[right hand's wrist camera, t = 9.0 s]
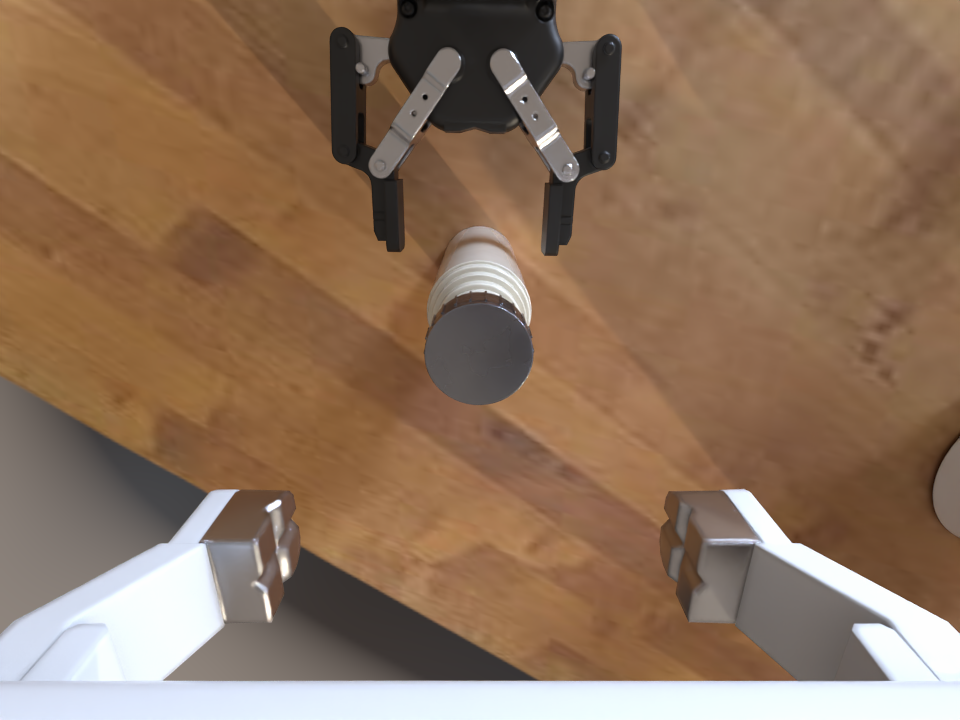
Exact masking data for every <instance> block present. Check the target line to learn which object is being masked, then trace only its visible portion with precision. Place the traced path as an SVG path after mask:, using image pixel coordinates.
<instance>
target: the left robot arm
mask: <svg viewBox="0 0 960 720" xmlns="http://www.w3.org/2000/svg"><path fill="white" fill-rule="evenodd" d="M621 52H622V45H621V41H620V39H619V38H618V37H617V36H616V35H613V34H607V35H604V36H603V37H601V38H600V39H599V40H597V41H579V42H562V40H561V38H560V35H559V33H558V29H557V25H556V0H397V20H396V25H395V28H394V30H393V33H392V35H391V37H390V38H380V37H370V36H359V35H354V34H353V33H352V32H351V31H350V30H349V29H347V28H345V27H338V28H336V29H335V30H333V32H332V33H331V36H330V79H331V128H332V154H333V156H334V158H335V159H336V160H337V161H338V162H339V163H342V164H347V165H349V166H352V167H354V168H357V169H359V170H362V171H363V172H365V173H366V174H367V175H368V176H369V178H370V180H371V185H372V203H373V219H374V232H375V234H376V237H377V239H378V241H386V246H387V251H388V252H401V251H402V250H403V249H404V245H405V233H404V202H403V179H398V171H399V169H400V168H401V166H402V165H403V163H404V162H405V161H406V159H407V158H408V156H409V155H410V153H411V152H412V150H413V149H414V148H415V146H416V145H417V144H418V143H419V142H420V141H421V139H422V138H423V136H424V135H425V133H426V132H427V130H428V129H429V128H430V126H431V125H432V124H433V125H434V126H435V127H437V128H438V129H440V130H443V131H444V132H446V133H462V132H466V131H469V130H473V129H477V130H480V131H483V132H487V133H490V134H505V133H506V132H509V131H511V130H513V129H514V128H516V127H517V126H519V127H520V129H521V130H522V132H523V133H524V135H525V136H526V138H527V140H528V141H529V143H530V144H531V145H532V147H533V148H534V149H535V151H536V152H537V154H538V155H539V157H540V158H541V160H542V161H543V163H544V165H545V166H546V168H547V169H548V171H549V172H550V179H549V183H545V192H544V208H543V224H542V240H541V251H542V253H543V254H544V256H557V255H558V249H559V245H567V244H568V242H569V240H570V238H571V234H572V222H573V210H574V198H575V188H576V185H577V183H578V182H579V180H580V179H581V178H583V177H584V176H587V175H589V174H592V173H595V172H598V171H601V170H607V169H609V168H611V167H612V166H613V165H614V163H615V161H616V152H617V132H618V112H619V92H620V72H621ZM387 63H391V65H392V67H393V68H394V70H395V71H396V73H397V74H398V76H399V77H400V79H401V80H402V82H403V83H404V85H405V86H406V88H407V89H408V91H409V92H410V94H411V95H410V97H409V98H408V100H407V101H406V103H405V104H404V106H403V107H402V109H401V110H400V112H399V113H398V115H397V116H396V118H395V119H394V121H393V122H392V124H391V126H390V129H389V131H388V133H387V134H386V136H385V137H384V139H383V140H382V142H381V143H380V145H379V146H378V148H377V149H376V148H374V147H371V146H369V145H366V86H372V85H374V84H375V83H376V82H377V80H378V77H379V72H380V69H381V68H382V66H383V65H385V64H387ZM561 67H565V68H567V69H568V70H569V71H570V72H571V74H572V78H573V84H574V86H575V87H576V88H577V89H578V90H580V91H585V122H584V149H583V150H580V151H578V152H575V153H572V152H571V151H570V149H569V148H568V146H567V144H566V143H565V141H564V139H563V138H562V136H561V134H560V132H559V130H558V127H557V125H556V124H555V122H554V120H553V119H552V117H551V116H550V114H549V112H548V111H547V109H546V107H545V106H544V104H543V103H542V101H541V99H540V96H541V95H542V93H543V92H544V91H545V89H546V88H547V86H548V85H549V84H550V82H551V81H552V79H553V78H554V77H555V75H556V74H557V72H558V71H559V69H560V68H561Z"/></svg>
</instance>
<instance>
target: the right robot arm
mask: <svg viewBox="0 0 960 720" xmlns="http://www.w3.org/2000/svg"><path fill="white" fill-rule="evenodd" d="M933 504H934V509H935V512H936V515H937V517H938V519H939V520H940V522H941V523H942V524H943V526H944V527H945V528H946V529H947V530H948V531H950V532H951V533H952V534H954V535H955V536H957V537H959V538H960V438H959V439H958V440H957V441H956V442H955V443H954V445H953V446H952V447H951V449H950V450H949V452H948V453H947V454H946V456H945V458H944V459H943V461H942V463H941V465H940V467H939V470H938V472H937V475H936V478H935V482H934V487H933ZM295 509H296V506H295V501H294V496H293V494H292V493H291V492H290V491H281V490H214V491H211V492H210V493H209V494H208V495H207V496H206V497H205V499H204V500H203V501H202V502H201V504H200V505H199V506H198V507H197V508H196V510H195V511H194V512H193V513H192V514H191V516H190V517H189V518H188V519H187V521H186V522H185V523H184V524H183V526H182V527H181V528H180V529H179V530H178V532H177V533H176V534H175V535H174V537H173V538H172V539H171V540H170V541H169V543H160V544H158V545H156V546H154V547H152V548H150V549H148V550H147V551H145V552H143V553H141V554H139V555H137V556H135V557H133V558H132V559H130V560H128V561H126V562H124V563H122V564H120V565H118V566H116V567H115V568H113V569H111V570H109V571H107V572H105V573H103V574H101V575H99V576H98V577H96V578H94V579H92V580H90V581H88V582H86V583H84V584H83V585H81V586H79V587H77V588H75V589H73V590H71V591H69V592H67V593H66V594H64V595H62V596H60V597H58V598H56V599H54V600H52V601H51V602H49V603H47V604H45V605H43V606H41V607H39V608H37V609H35V610H34V611H32V612H30V613H28V614H26V615H24V616H22V617H20V618H19V619H17V620H15V621H13V622H12V623H11V624H10V625H9V626H8V627H7V628H6V629H5V630H4V631H3V632H2V633H1V634H0V720H960V634H959V633H958V632H957V631H956V630H955V629H954V628H953V627H952V626H951V625H950V624H949V623H948V622H947V621H945V620H943V619H941V618H939V617H937V616H935V615H934V614H932V613H930V612H928V611H926V610H924V609H922V608H920V607H919V606H917V605H915V604H913V603H911V602H909V601H907V600H905V599H904V598H902V597H900V596H898V595H896V594H894V593H892V592H890V591H889V590H887V589H885V588H883V587H881V586H879V585H877V584H875V583H873V582H872V581H870V580H868V579H866V578H864V577H862V576H860V575H858V574H857V573H855V572H853V571H851V570H849V569H847V568H845V567H843V566H842V565H840V564H838V563H836V562H834V561H832V560H830V559H828V558H827V557H825V556H823V555H821V554H819V553H817V552H815V551H813V550H812V549H810V548H808V547H806V546H804V545H802V544H800V543H791V541H790V540H789V539H788V538H787V537H786V535H785V534H784V533H783V532H782V530H781V529H780V528H779V527H778V526H777V524H776V523H775V522H774V521H773V519H772V518H771V517H770V516H769V515H768V513H767V512H766V511H765V510H764V508H763V507H762V506H761V505H760V504H759V502H758V501H757V500H756V499H755V497H754V496H753V495H752V494H751V493H750V492H749V491H747V490H745V489H736V490H719V491H669V492H668V494H667V496H666V500H665V506H664V509H665V511H666V513H667V515H668V517H669V519H668V520H667V521H666V522H665V523H664V524H663V525H662V527H661V532H660V553H661V558H662V562H663V566H664V568H665V570H666V573H667V575H668V576H669V577H670V578H672V579H673V580H674V581H676V582H677V589H676V595H677V597H678V599H679V602H680V604H681V606H682V608H683V610H684V613H685V615H686V617H687V619H688V621H689V622H705V623H736V624H735V626H736V627H737V628H738V629H740V630H741V631H742V632H743V633H744V634H745V635H746V636H748V637H749V638H750V639H751V640H752V641H753V642H754V643H755V644H757V645H758V646H759V647H760V648H761V649H762V650H763V651H765V652H766V653H767V654H768V655H769V656H770V657H771V658H772V659H774V660H775V661H776V662H777V663H778V664H779V665H780V666H782V667H783V668H784V669H785V670H786V671H787V672H788V673H789V674H791V675H792V676H793V677H794V678H795V679H796V680H797V681H163V680H164V679H165V678H166V677H167V676H168V675H170V674H171V673H172V672H173V671H174V670H175V669H176V668H177V667H179V666H180V665H181V664H182V663H183V662H184V661H185V660H187V659H188V658H189V657H190V656H191V655H192V654H193V653H195V652H196V651H197V650H198V649H199V648H200V647H201V646H202V645H204V644H205V643H206V642H207V641H208V640H209V639H210V638H212V637H213V636H214V635H215V634H216V633H217V632H218V631H219V630H221V629H222V628H223V627H224V626H225V624H224V623H254V622H271V621H272V619H273V617H274V615H275V613H276V610H277V608H278V606H279V604H280V602H281V599H282V597H283V595H284V589H283V582H284V581H286V580H287V579H288V578H290V577H291V576H292V575H293V573H294V570H295V568H296V565H297V562H298V557H299V552H300V531H299V527H298V525H297V524H296V523H295V522H294V521H293V520H292V519H291V517H292V515H293V513H294V511H295Z"/></svg>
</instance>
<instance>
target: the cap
mask: <svg viewBox="0 0 960 720" xmlns="http://www.w3.org/2000/svg"><path fill="white" fill-rule="evenodd" d="M531 338H532V334H531V331H530V328H529V326H527V324H526V321H525V317H524V314H523V313H522V314H521V313H520V311H519V310H518V309H517V308H516V307H515V305H514V303H513V302H512V303H511V302H509V301H508V300H506V299H504V298H503V297H502V295H499V296H498V295H495V294H492V293H487V291H485V292H472V291H470V292H469V293H467V294H463V295H460V296H457V295H456V296H455V298H454V299H452V300H450V301H449V302H447V303H446V304H445V303H444V304H443V305H442V308H441V309H440V310H439V311H438V313H437V314H436V315H435V314H434V316H433V319H432V323H431V327H429V328H428V331H427V334H426V338H425V339H426V344H425V350H424V354H425V364H426V367H427V371H428V373H429V375H430V377H431V379H432V380H433V382H434V383H435V385H436V386H437V387H438V388H439V389H440V390H441V391H442V392H443V393H445V394H446V395H448V396H449V397H451V398H453V399H454V400H457V401H459V402H463V403H466V404H472V405H486V404H491V403H495V402H498V401H501V400H503V399H505V398H507V397H509V396H510V395H512V394H513V393H514V392H516V391H517V390H518V389H519V388H520V387H521V386H522V385H523V383H524V382H525V380H526V379H527V377H528V375H529V373H530V370H531V367H532V363H533V353H534V348H533V345H532V340H531Z"/></svg>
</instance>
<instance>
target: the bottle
mask: <svg viewBox="0 0 960 720" xmlns="http://www.w3.org/2000/svg"><path fill="white" fill-rule="evenodd" d="M470 291H472V292H485V291H487V293H492V294H495V295H498V296H499V295H502V297H503V298H504V299H506V300H508V301H509V302H511V303H512V302H513V303H514V305H515V307H516V308H517V309H518V310H519V311H520V313H521V314H522V313H523V314H524V317H525V321H526V324H527V326H529V324H530V319H531V302H530V298H529V295H528V292H527V289H526V286H525V284H524V281H523V278H522V275H521V272H520V269H519V267H518V264H517V261H516V258H515V255H514V253H513V250H512V247H511V245H510V243H509V242H508V240H507V239H506V238H505V237H504V236H503V235H502V234H501V233H499V232H498V231H496V230H494V229H492V228H488V227H483V226H476V227H470V228H467V229H465V230H463V231H461V232H459V233H458V234H457V235H455V236H454V237H453V239H452V240H451V241H450V243H449V244H448V246H447V248H446V251H445V254H444V256H443V259H442V262H441V265H440V267H439V270H438V273H437V276H436V278H435V281H434V284H433V287H432V289H431V292H430V295H429V299H428V304H427V318H428V323H429V327H431V323H432V319H433V316H434V314H435V315H436V314H437V313H438V311H439V310H440V309H441V308H442V305H443V304H444V303H445V304H446V303H447V302H449V301H450V300H452V299H454V298H455V296H456V295H457V296H460V295H463V294H467V293H469V292H470Z"/></svg>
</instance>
